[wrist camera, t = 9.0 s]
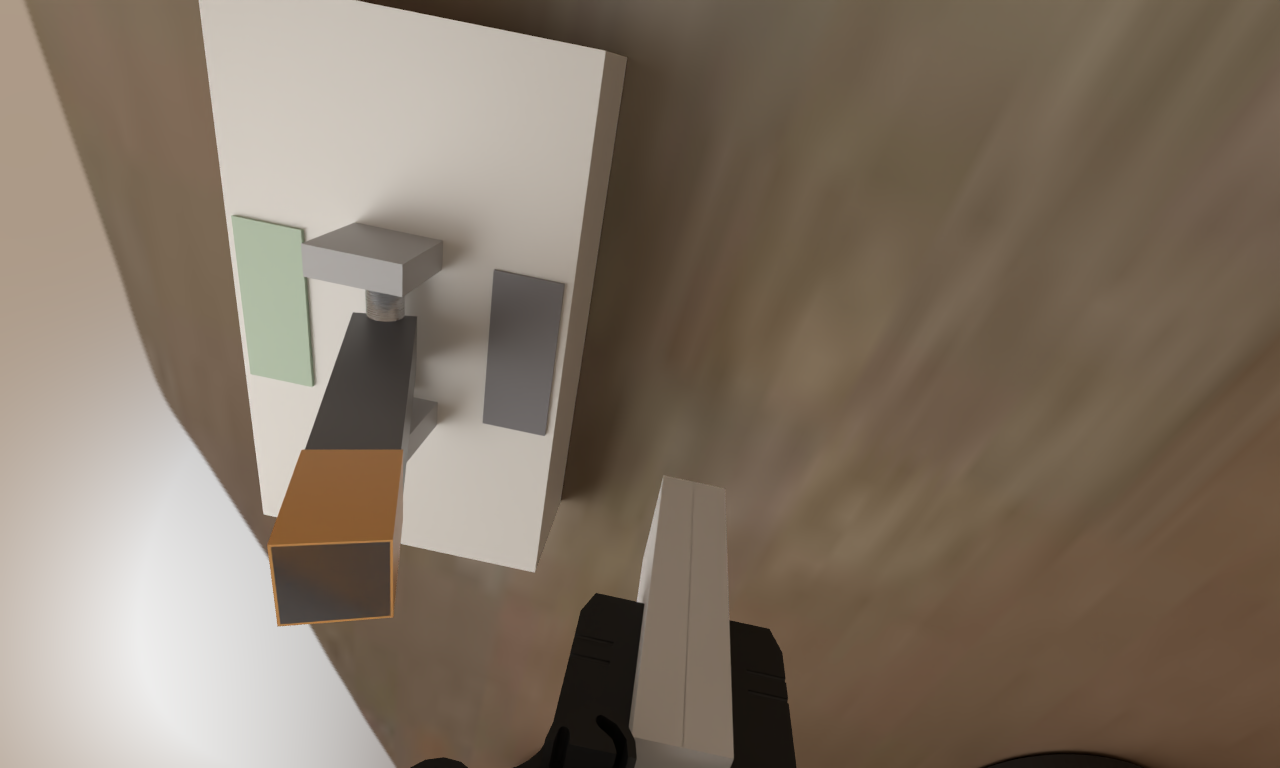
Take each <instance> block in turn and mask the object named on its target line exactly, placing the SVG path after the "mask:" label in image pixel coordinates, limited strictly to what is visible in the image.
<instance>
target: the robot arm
mask: <svg viewBox="0 0 1280 768" xmlns="http://www.w3.org/2000/svg"><path fill="white" fill-rule="evenodd" d="M787 700H788V696H787V687H786V683H785V671H784V663H783V655H782V651H781V650H780V648H779V646H778V644H777V642H776V640H775V639H774V637H773V635H772V633H771V631H770V629H767V628H762V627H758V626H753V625H749V624H744V623H739V622H735V621H730V620H729V595H728V565H727V534H726V503H725V488H721V487H716V486H711V485H707V484H702V483H697V482H693V481H688V480H683V479H679V478H674V477H669V476H665V475H664V476H663V480H662V484H661V488H660V492H659V496H658V500H657V504H656V509H655V513H654V517H653V521H652V525H651V529H650V533H649V537H648V541H647V545H646V549H645V554H644V558H643V563H642V570H641V577H640V584H639V591H638V598H637V602H635V601H630V600H626V599H621V598H617V597H612V596H607V595H603V594H598V593H596V594H595V595H594V596H593V597H592V598H591V599H590V601H589V602H588V603H587V604H586V605H585V607H584V608H583V609H582V610H581V612H580V616H579V620H578V624H577V629H576V633H575V637H574V641H573V645H572V649H571V653H570V657H569V661H568V665H567V669H566V673H565V677H564V681H563V685H562V689H561V693H560V697H559V701H558V705H557V709H556V713H555V718H554V722H553V724H552V726H551V728H550V730H549V732H548V734H547V737H546V739H545V744H544V745H543V747H542V748H541V750H540V751H539V752H538V753H537V754H536V755H534V756H533V757H532V758H531V759H530V760H528V761H526V762H525V763H523V764H521V765H519V766H517V767H514V768H796V760H795V752H794V744H793V736H792V728H791V720H790V712H789V704H788V703H787ZM411 768H468V767H466V766H465V765H464V764H463V763H462V762H459V761H456V760H452V759H448V758H436V759H428V760H424V761H422V762H420V763H418V764H416V765H415V766H413V767H411ZM987 768H1142V767H1140V766H1137V765H1134V764H1131V763H1128V762H1124V761H1120V760H1116V759H1111V758H1106V757H1099V756H1091V755H1077V754H1056V755H1042V756H1033V757H1027V758H1021V759H1016V760H1011V761H1007V762H1003V763H1000V764H996V765H993V766H990V767H987Z"/></svg>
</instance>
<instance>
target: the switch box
mask: <svg viewBox="0 0 1280 768" xmlns="http://www.w3.org/2000/svg"><path fill="white" fill-rule="evenodd" d="M199 6H200V14H201V22H202V30H203V38H204V46H205V54H206V62H207V70H208V77H209V85H210V93H211V101H212V109H213V117H214V125H215V133H216V141H217V149H218V157H219V165H220V172H221V180H222V188H223V196H224V204H225V212H226V220H227V228H228V236H229V244H230V252H231V260H232V267H233V275H234V283H235V291H236V299H237V307H238V315H239V323H240V331H241V339H242V347H243V355H244V362H245V370H246V378H247V386H248V394H249V402H250V410H251V418H252V426H253V434H254V442H255V450H256V457H257V465H258V473H259V481H260V489H261V497H262V505H263V513H264V514H265V515H269V516H274V517H278V514H279V511H280V508H281V505H282V503H283V500H284V497H285V494H286V491H287V489H288V486H289V483H290V480H291V477H292V475H293V472H294V469H295V466H296V464H297V461H298V458H299V455H300V452H301V450H305V448H306V445H307V442H308V439H309V436H310V433H311V431H312V428H313V425H314V422H315V419H316V416H317V413H318V410H319V408H320V405H321V402H322V399H323V396H324V393H325V390H326V388H327V385H328V382H329V379H330V376H331V373H332V370H333V368H334V365H335V362H336V359H337V356H338V353H339V350H340V348H341V345H342V342H343V339H344V336H345V333H346V330H347V328H348V325H349V322H350V319H351V316H352V313H353V312H355V313H366V299H365V290H370V291H374V292H379V293H384V294H389V295H394V296H398V297H403V296H405V316H417V359H416V377H415V386H414V396H413V406H412V415H411V425H410V434H409V444H408V454H407V463H406V473H405V483H404V492H403V524H402V534H401V544H405V545H409V546H414V547H419V548H423V549H428V550H433V551H437V552H442V553H446V554H451V555H456V556H460V557H465V558H470V559H474V560H479V561H484V562H488V563H493V564H498V565H502V566H507V567H512V568H516V569H521V570H526V571H530V572H535V571H536V568H537V565H538V563H539V560H540V557H541V554H542V552H543V549H544V546H545V543H546V540H547V538H548V535H549V532H550V529H551V527H552V524H553V521H554V518H555V516H556V513H557V510H558V507H559V505H560V502H561V495H562V489H563V482H564V475H565V469H566V462H567V456H568V449H569V442H570V436H571V429H572V422H573V416H574V409H575V402H576V396H577V389H578V383H579V376H580V369H581V363H582V356H583V349H584V343H585V336H586V329H587V323H588V316H589V309H590V303H591V296H592V290H593V283H594V276H595V270H596V263H597V256H598V250H599V243H600V236H601V230H602V223H603V217H604V210H605V203H606V197H607V190H608V183H609V177H610V170H611V163H612V157H613V150H614V143H615V137H616V130H617V124H618V117H619V110H620V104H621V97H622V90H623V84H624V77H625V70H626V64H627V57H625V56H621V55H618V54H615V53H611V52H608V51H604V50H599V49H594V48H589V47H584V46H580V45H575V44H570V43H565V42H560V41H555V40H550V39H545V38H540V37H535V36H530V35H525V34H520V33H515V32H510V31H505V30H500V29H495V28H490V27H485V26H481V25H476V24H471V23H466V22H461V21H456V20H451V19H446V18H441V17H436V16H431V15H426V14H421V13H416V12H411V11H406V10H401V9H396V8H391V7H386V6H381V5H377V4H372V3H367V2H362V1H357V0H199Z"/></svg>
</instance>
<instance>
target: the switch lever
mask: <svg viewBox="0 0 1280 768" xmlns="http://www.w3.org/2000/svg"><path fill="white" fill-rule="evenodd" d="M365 299H366V313H355V312H353V313H352V316H351V319H350V322H349V325H348V328H347V330H346V333H345V336H344V339H343V342H342V345H341V348H340V350H339V353H338V356H337V359H336V362H335V365H334V368H333V370H332V373H331V376H330V379H329V382H328V385H327V388H326V390H325V393H324V396H323V399H322V402H321V405H320V408H319V410H318V413H317V416H316V419H315V422H314V425H313V428H312V431H311V433H310V436H309V439H308V442H307V445H306V448H305V450H301V452H300V455H299V458H298V461H297V464H296V466H295V469H294V472H293V475H292V477H291V480H290V483H289V486H288V489H287V491H286V494H285V497H284V500H283V503H282V505H281V508H280V511H279V514H278V517H277V519H276V522H275V525H274V528H273V531H272V533H271V536H270V539H269V542H268V545H267V546H268V554H269V562H270V569H271V577H272V585H273V593H274V601H275V609H276V617H277V624H278V626H287V625H288V626H289V625H301V624H314V623H327V622H340V621H352V620H365V619H378V618H390V617H393V615H394V605H395V595H396V585H397V575H398V565H399V555H400V544H401V534H402V524H403V492H404V483H405V473H406V463H407V454H408V444H409V434H410V425H411V415H412V406H413V396H414V386H415V377H416V359H417V316H405V296H403V297H398V296H394V295H389V294H384V293H379V292H374V291H370V290H365Z"/></svg>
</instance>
